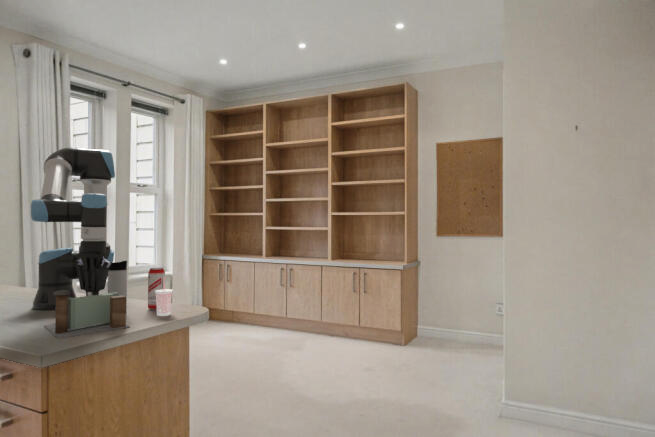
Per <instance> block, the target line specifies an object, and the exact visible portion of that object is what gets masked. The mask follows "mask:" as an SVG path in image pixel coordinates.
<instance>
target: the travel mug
mask: <svg viewBox="0 0 655 437" xmlns="http://www.w3.org/2000/svg"><path fill="white" fill-rule="evenodd" d="M127 266H128V260H122V261H117V262H113V263H112V265H111V266H110V268H109V272H108V277H107V294H108V293H111V292H116V293H119V296H126V314H127V308H128V306H127V304H128V302H127V301H128V300H127V297H128V293H127V292H128V291H127V290H128V268H127Z"/></svg>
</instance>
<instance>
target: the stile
mask: <svg viewBox="0 0 655 437" xmlns="http://www.w3.org/2000/svg"><path fill="white" fill-rule="evenodd" d="M126 311H127V310H126V296H114V297H110V327H111V328H119V327H125V326H126V325H127V313H126Z"/></svg>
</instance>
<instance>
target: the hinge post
mask: <svg viewBox="0 0 655 437" xmlns="http://www.w3.org/2000/svg"><path fill="white" fill-rule="evenodd" d="M68 294H70V291H68V290H64V291H55V292H54V293H53V295H56V309H55V323H54V324H55V333H57V334H61V333H66V332H68Z"/></svg>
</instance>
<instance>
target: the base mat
mask: <svg viewBox="0 0 655 437" xmlns="http://www.w3.org/2000/svg"><path fill="white" fill-rule="evenodd" d="M44 327H45V328H46V329H47V330H48V331H49V332H50V333H51V334H53V336H54V337H56V338H57V339H65V338H70V337H71V338H72V337H79V336H84V335H85V336H86V335H89V334H97V333H103V332H111V331H116V330H122V329H129V328H131V327H130V325H128V324H126V326H125V327H119V328H111V327H110V322H107V323H101V324H96V325H90V326H85V327H79V328H75V329H72V330H70V329H68V332H66V333H61V334H57V333H55V323H51V324H45V325H44Z"/></svg>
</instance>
